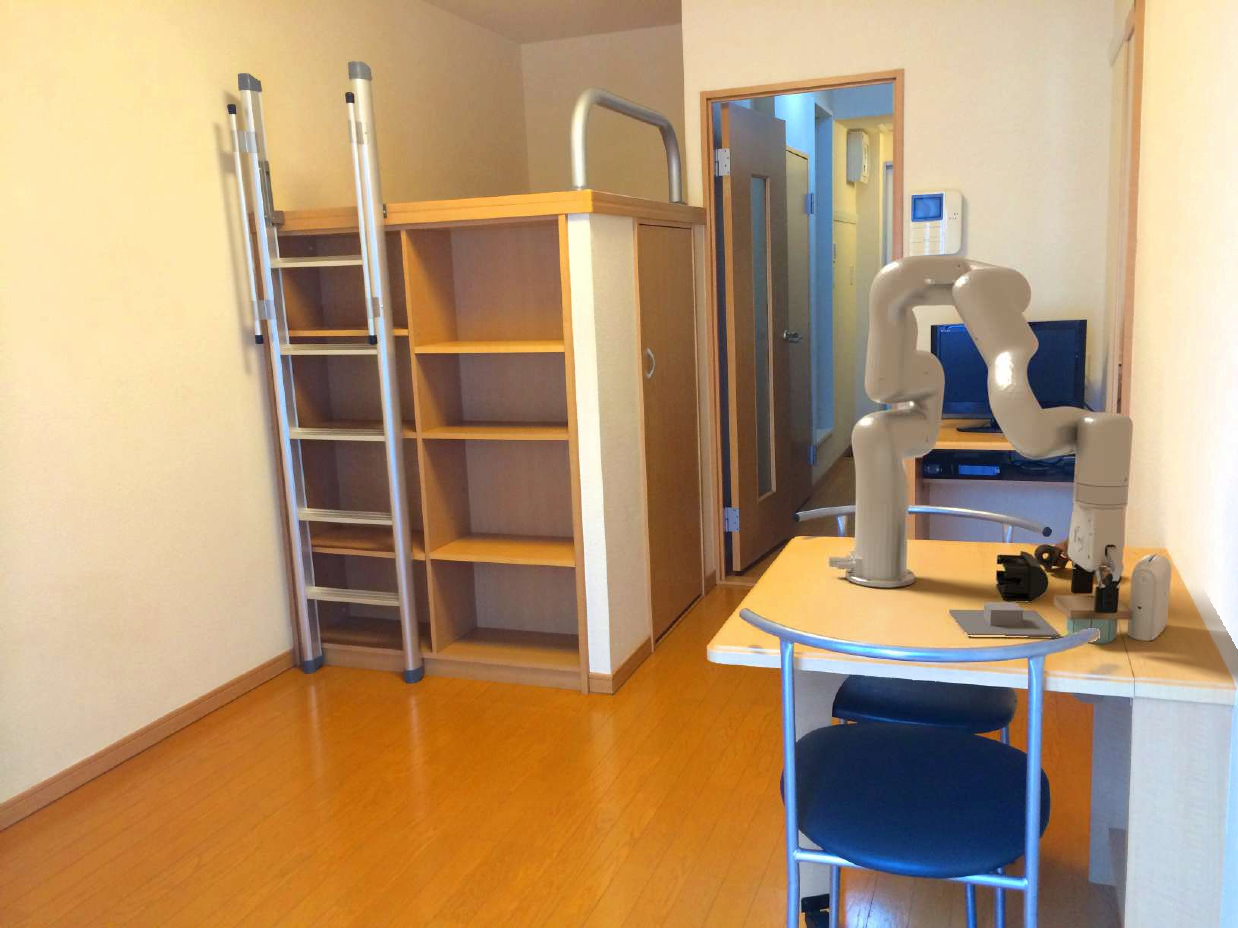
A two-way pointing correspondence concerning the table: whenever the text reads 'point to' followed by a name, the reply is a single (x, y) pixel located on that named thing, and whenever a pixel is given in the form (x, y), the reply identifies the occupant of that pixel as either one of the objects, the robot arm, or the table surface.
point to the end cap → (1020, 578)
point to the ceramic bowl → (1104, 625)
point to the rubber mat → (984, 629)
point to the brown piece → (1053, 555)
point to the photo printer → (1149, 597)
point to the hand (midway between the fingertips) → (1093, 602)
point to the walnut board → (1088, 608)
